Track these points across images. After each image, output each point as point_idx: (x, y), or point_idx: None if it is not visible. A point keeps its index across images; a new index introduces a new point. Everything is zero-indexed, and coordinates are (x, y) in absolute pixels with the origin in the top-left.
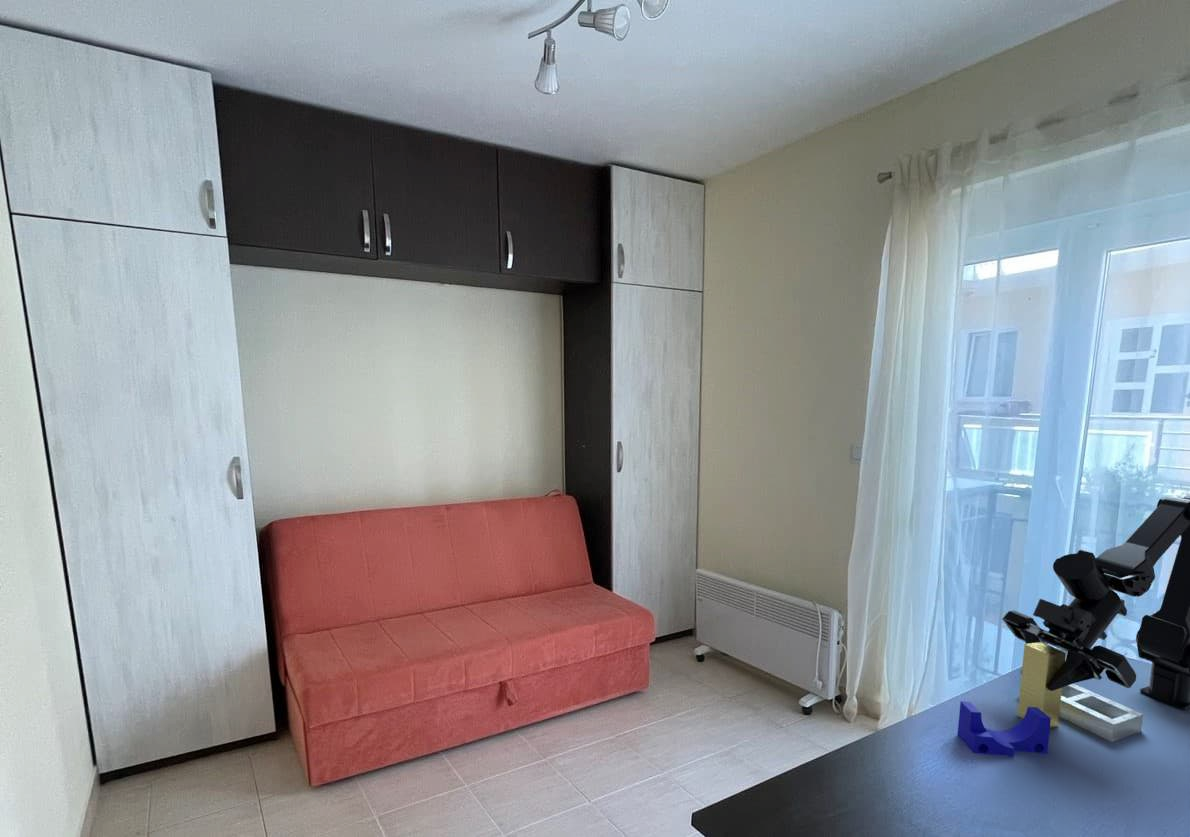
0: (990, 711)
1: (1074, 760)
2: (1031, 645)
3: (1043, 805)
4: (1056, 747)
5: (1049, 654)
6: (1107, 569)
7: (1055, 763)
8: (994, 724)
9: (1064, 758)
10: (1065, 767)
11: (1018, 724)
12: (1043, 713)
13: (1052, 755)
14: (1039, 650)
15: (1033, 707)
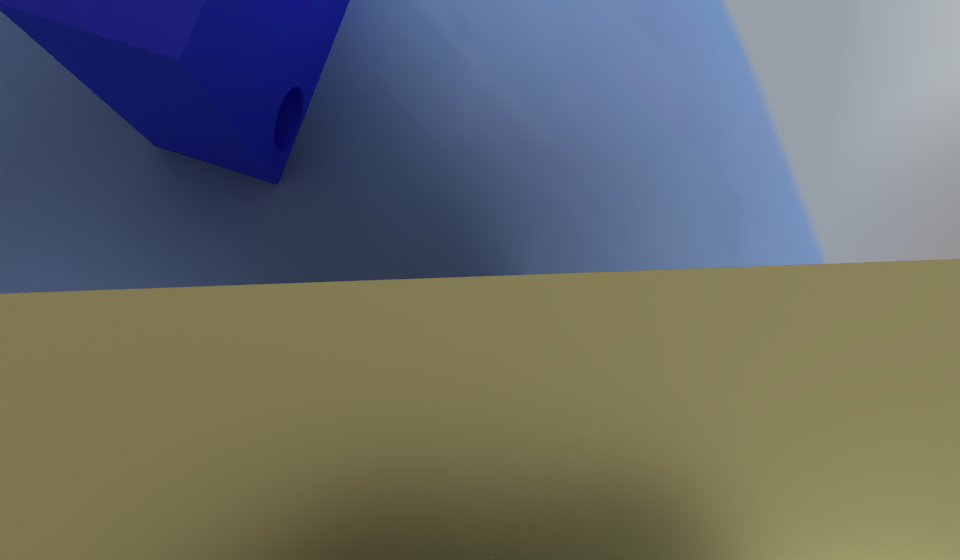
0: (639, 218)
1: (49, 261)
2: (957, 458)
3: None
4: (188, 282)
5: (12, 395)
6: None
7: (66, 99)
8: (494, 97)
9: (85, 212)
10: (18, 123)
11: (288, 17)
12: (77, 14)
13: (131, 162)
14: (458, 329)
15: (189, 18)
